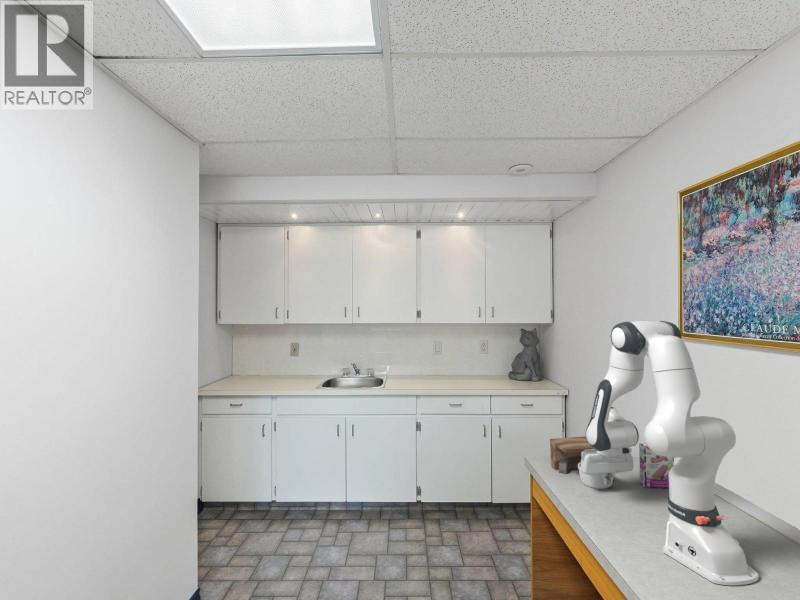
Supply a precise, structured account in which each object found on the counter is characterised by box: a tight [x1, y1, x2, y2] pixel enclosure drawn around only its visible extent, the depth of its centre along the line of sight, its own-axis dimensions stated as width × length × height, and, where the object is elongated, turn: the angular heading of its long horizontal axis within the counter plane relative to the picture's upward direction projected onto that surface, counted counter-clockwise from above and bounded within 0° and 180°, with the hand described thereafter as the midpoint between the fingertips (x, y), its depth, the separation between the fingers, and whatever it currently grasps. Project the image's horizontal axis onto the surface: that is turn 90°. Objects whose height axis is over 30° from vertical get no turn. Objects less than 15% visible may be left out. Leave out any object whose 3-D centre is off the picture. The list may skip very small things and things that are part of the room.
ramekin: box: [577, 462, 614, 490], centre depth 166 cm, size 13×13×7 cm
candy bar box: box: [638, 442, 675, 489], centre depth 163 cm, size 11×5×16 cm, turn 84°
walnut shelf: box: [549, 435, 594, 475], centre depth 179 cm, size 14×19×12 cm
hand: (607, 483), depth 159 cm, fingers closed
